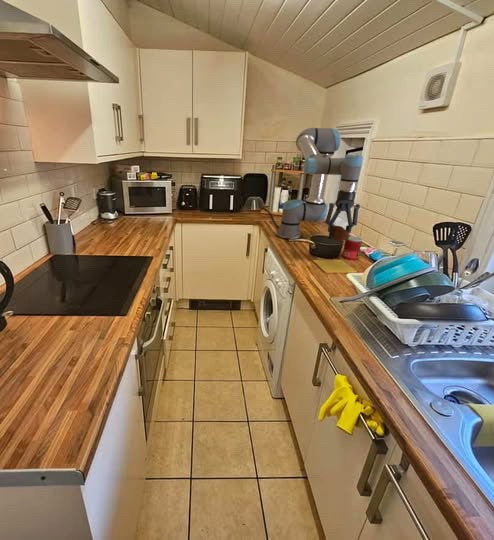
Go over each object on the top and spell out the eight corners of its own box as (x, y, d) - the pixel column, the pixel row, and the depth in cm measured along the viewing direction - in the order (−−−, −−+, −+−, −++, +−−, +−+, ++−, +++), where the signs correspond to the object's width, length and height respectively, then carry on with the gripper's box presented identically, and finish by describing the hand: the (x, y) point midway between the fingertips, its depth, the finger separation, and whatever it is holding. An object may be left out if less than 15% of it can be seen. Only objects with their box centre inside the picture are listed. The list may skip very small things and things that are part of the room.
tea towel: (312, 260, 158) (312, 259, 157) (341, 260, 159) (341, 259, 159) (325, 272, 143) (325, 272, 143) (357, 272, 144) (357, 271, 144)
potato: (343, 243, 140) (345, 230, 138) (324, 237, 149) (326, 224, 147) (351, 241, 143) (354, 228, 140) (332, 235, 152) (334, 223, 150)
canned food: (359, 260, 159) (363, 240, 155) (343, 259, 161) (347, 239, 156) (356, 255, 166) (360, 236, 162) (340, 254, 168) (344, 235, 163)
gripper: (327, 191, 134) (319, 240, 143) (372, 192, 133) (361, 242, 142) (323, 188, 141) (315, 235, 150) (365, 190, 140) (355, 237, 149)
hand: (337, 238), depth 146 cm, fingers closed on potato, 7 cm apart
